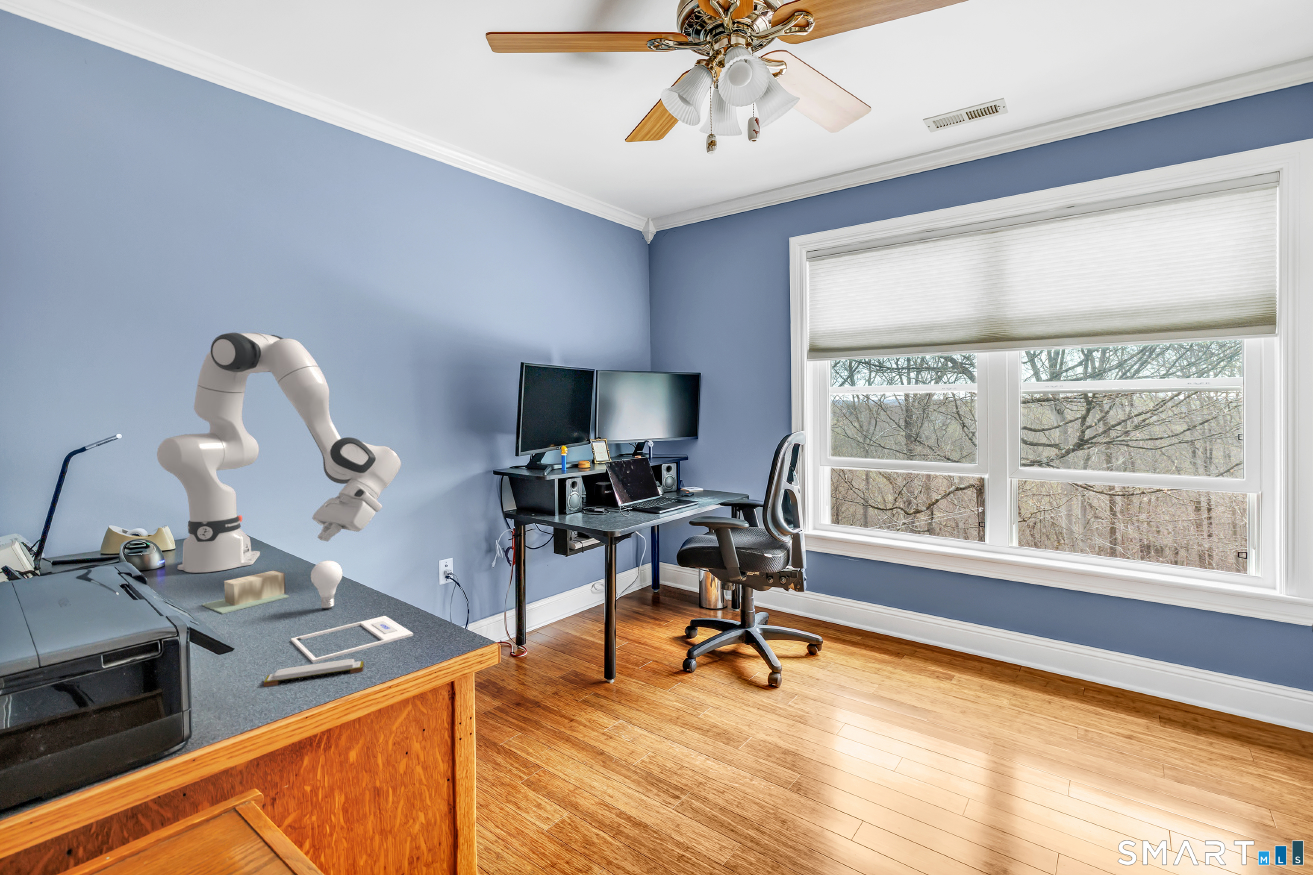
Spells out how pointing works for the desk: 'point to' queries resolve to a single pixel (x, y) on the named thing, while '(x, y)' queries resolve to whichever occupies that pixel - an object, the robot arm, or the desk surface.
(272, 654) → the desk surface
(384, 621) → the photo frame
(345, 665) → the harmonica
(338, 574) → the lightbulb
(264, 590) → the birch block
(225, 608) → the mat
